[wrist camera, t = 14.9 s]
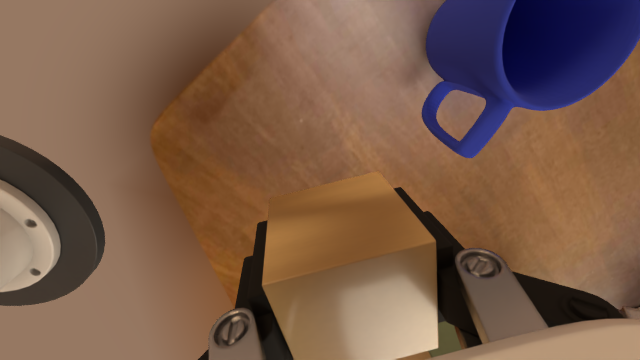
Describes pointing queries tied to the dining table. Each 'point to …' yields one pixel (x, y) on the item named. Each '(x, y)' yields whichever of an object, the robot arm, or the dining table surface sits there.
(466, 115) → the dining table surface
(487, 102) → the mug
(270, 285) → the block
